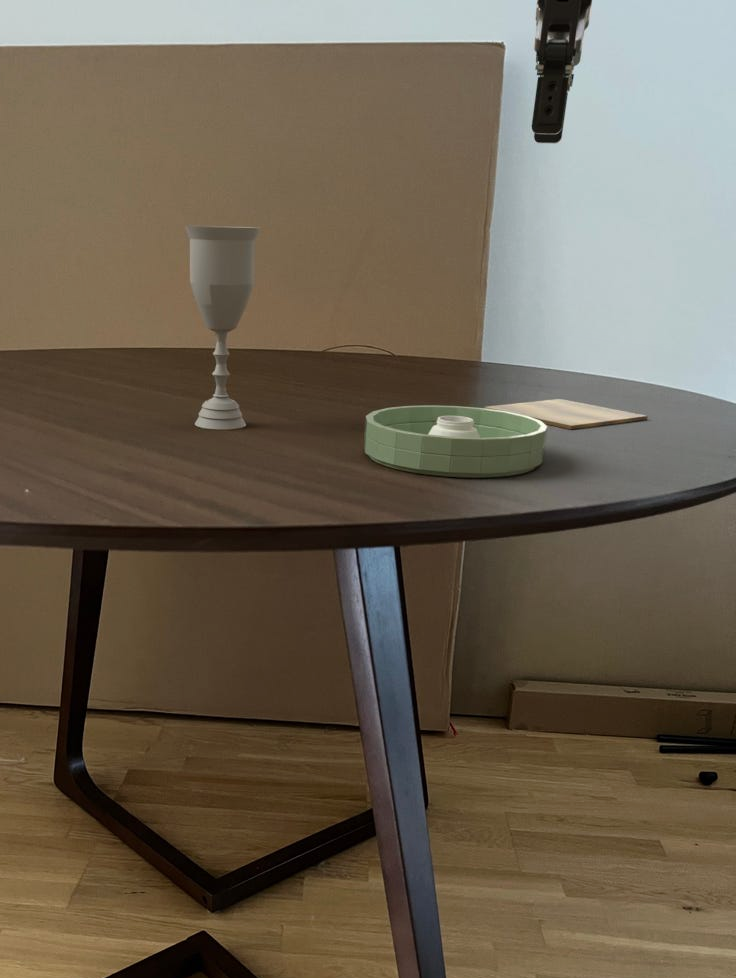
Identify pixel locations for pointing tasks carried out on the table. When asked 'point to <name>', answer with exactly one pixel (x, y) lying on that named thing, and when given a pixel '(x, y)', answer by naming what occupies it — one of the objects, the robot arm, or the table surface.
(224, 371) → the chalice
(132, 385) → the table surface
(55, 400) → the table surface
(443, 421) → the white jar
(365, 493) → the table surface
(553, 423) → the mat
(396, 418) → the pan
